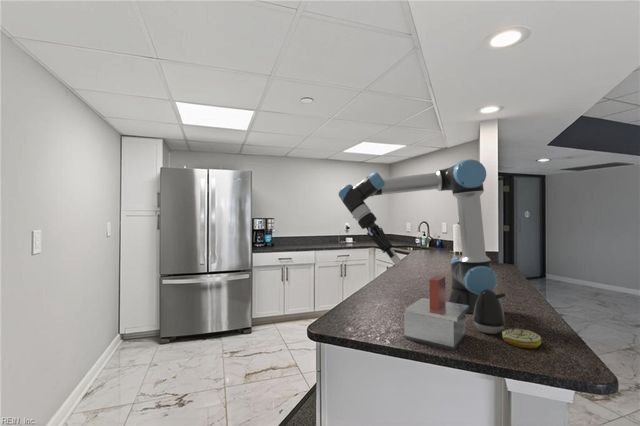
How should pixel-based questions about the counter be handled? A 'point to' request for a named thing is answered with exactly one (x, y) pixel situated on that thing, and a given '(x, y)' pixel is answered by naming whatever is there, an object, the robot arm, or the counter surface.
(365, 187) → the robot arm
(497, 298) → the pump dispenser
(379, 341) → the counter surface
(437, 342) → the grey storage bin
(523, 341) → the decorated donut
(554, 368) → the counter surface
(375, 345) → the counter surface
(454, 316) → the lid
